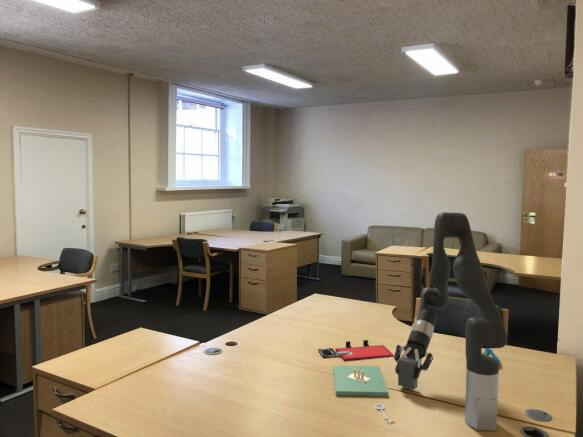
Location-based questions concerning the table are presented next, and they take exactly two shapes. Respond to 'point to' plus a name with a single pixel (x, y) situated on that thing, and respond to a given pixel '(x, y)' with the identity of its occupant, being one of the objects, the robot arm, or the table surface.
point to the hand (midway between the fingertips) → (405, 375)
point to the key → (382, 410)
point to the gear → (490, 353)
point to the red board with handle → (357, 352)
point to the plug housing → (407, 373)
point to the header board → (359, 380)
